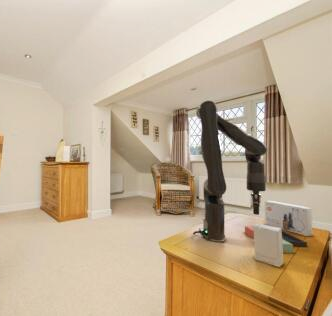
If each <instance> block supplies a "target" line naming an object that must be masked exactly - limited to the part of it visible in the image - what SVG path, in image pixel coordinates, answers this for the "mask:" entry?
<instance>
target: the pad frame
mask: <svg viewBox="0 0 332 316" xmlns="http://www.w3.org/2000/svg"><path fill="white" fill-rule="evenodd" d="M282 239H283V240H285V241H287V242H289V243H291V244H293V247H304V248H306V247H308V242H306V241H305V240H303V239H302V238H299V237H296V236H294V235H293V234H290V233H288V232H285V230H282Z"/></svg>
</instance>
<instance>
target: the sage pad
mask: <svg viewBox="0 0 332 316" xmlns="http://www.w3.org/2000/svg"><path fill="white" fill-rule="evenodd" d="M282 246H283V253H287V254H294V246H293V244H291V243H289V242H287V241H285V240H283V239H282Z"/></svg>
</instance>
